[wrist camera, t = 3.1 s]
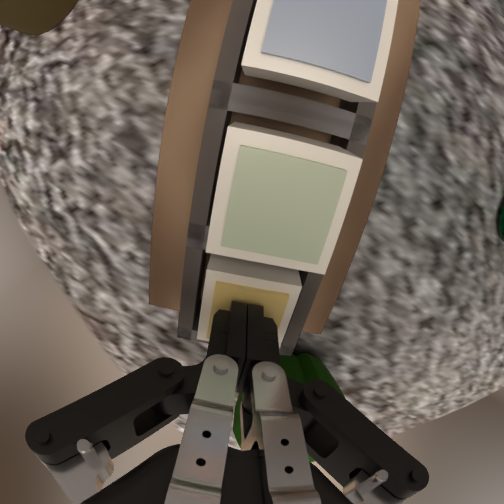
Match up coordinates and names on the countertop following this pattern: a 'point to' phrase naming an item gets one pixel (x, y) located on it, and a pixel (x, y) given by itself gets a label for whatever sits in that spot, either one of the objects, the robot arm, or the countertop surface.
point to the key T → (322, 45)
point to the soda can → (501, 222)
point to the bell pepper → (298, 370)
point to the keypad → (268, 116)
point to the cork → (34, 14)
